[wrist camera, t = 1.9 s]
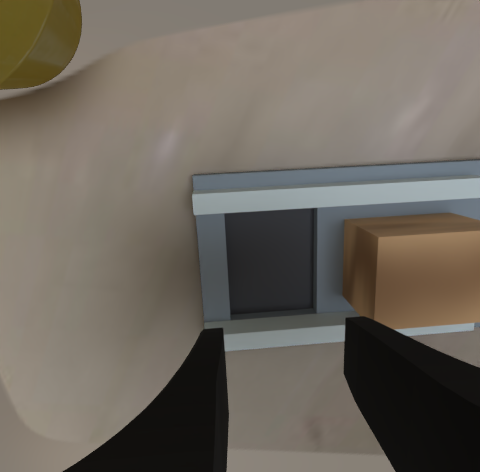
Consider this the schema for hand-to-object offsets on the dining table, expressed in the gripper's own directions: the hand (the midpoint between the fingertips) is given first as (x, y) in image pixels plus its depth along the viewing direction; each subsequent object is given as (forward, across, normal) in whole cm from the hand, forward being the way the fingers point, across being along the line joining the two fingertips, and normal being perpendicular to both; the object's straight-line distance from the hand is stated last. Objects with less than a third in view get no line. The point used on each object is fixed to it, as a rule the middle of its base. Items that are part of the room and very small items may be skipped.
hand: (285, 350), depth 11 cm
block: (+8, -8, 0) cm, 12 cm away
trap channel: (+9, -10, 0) cm, 13 cm away
